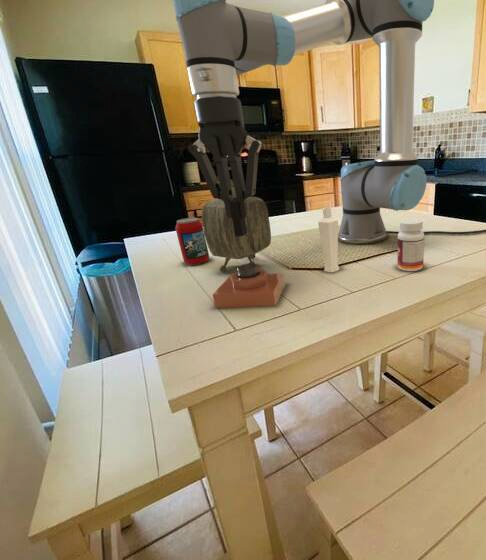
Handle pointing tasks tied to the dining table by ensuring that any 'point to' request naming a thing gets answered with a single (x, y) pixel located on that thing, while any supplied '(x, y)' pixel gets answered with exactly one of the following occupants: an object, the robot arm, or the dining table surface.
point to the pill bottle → (410, 245)
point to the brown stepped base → (250, 290)
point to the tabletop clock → (223, 234)
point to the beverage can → (192, 241)
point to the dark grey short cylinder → (247, 271)
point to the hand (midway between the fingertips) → (241, 234)
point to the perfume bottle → (329, 240)
